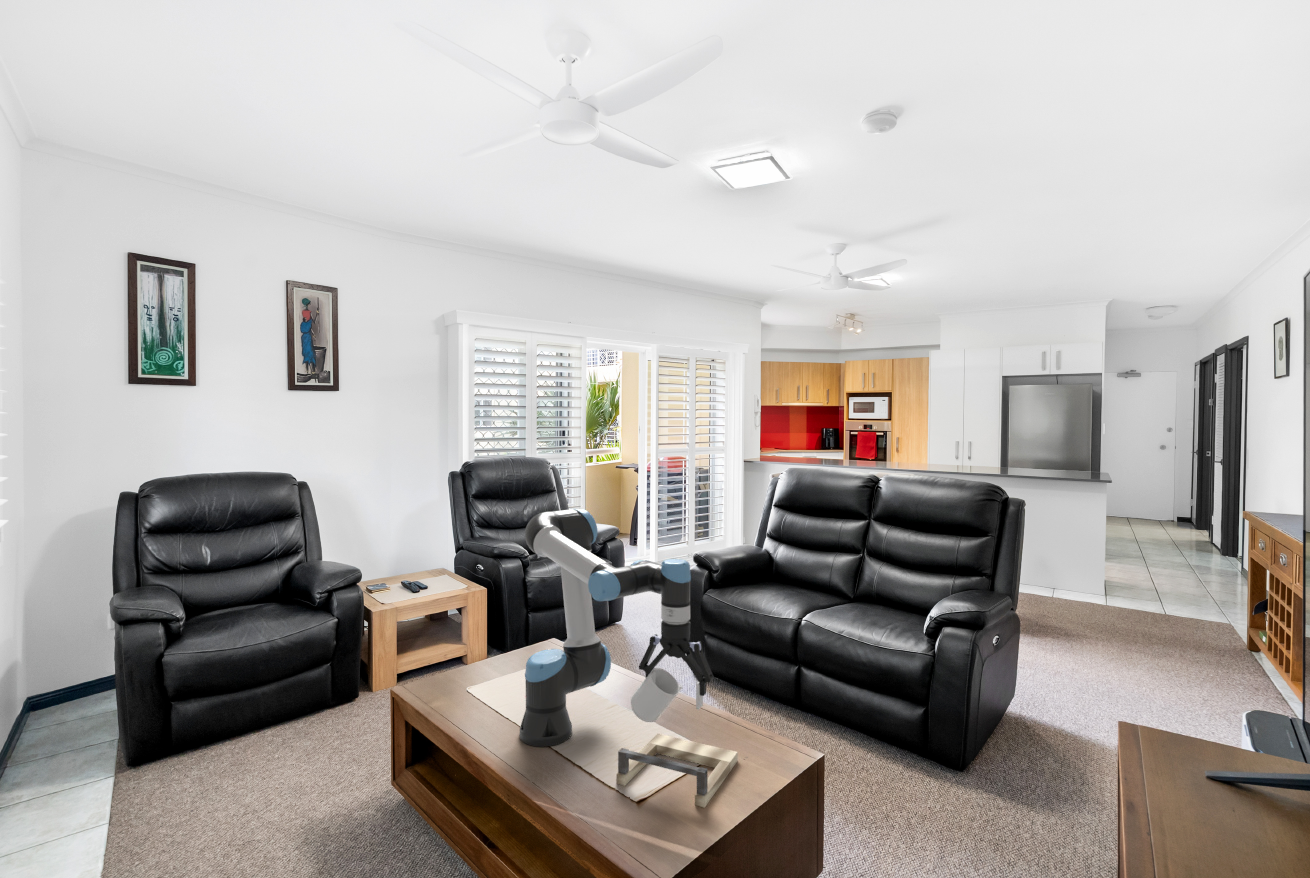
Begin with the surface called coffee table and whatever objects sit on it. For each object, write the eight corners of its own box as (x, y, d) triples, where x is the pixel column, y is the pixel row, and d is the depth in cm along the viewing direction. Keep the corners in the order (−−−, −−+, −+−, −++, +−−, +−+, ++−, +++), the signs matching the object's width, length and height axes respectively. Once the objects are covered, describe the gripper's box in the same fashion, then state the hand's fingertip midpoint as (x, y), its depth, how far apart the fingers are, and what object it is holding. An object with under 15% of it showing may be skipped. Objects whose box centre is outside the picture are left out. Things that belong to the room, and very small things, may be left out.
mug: (638, 725, 164) (661, 695, 161) (623, 697, 171) (645, 667, 168) (670, 723, 172) (693, 694, 169) (655, 696, 179) (677, 668, 175)
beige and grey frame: (616, 783, 163) (616, 752, 163) (657, 742, 185) (657, 714, 185) (704, 807, 153) (704, 774, 153) (737, 761, 174) (737, 731, 174)
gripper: (626, 617, 168) (626, 698, 169) (715, 631, 158) (715, 717, 158) (639, 610, 175) (639, 688, 176) (726, 623, 164) (725, 705, 165)
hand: (675, 702), depth 167 cm, fingers open, 13 cm apart
